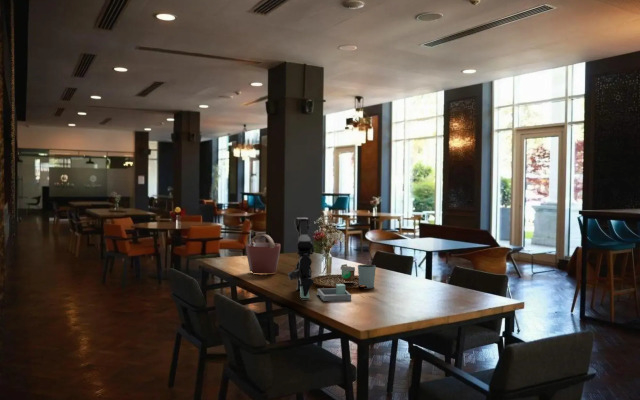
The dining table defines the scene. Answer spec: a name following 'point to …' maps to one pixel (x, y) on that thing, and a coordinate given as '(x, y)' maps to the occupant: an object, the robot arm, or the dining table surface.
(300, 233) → the robot arm
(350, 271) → the food container
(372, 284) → the grey green cylinder
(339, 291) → the tray
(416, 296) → the dining table surface
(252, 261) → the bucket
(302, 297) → the block
